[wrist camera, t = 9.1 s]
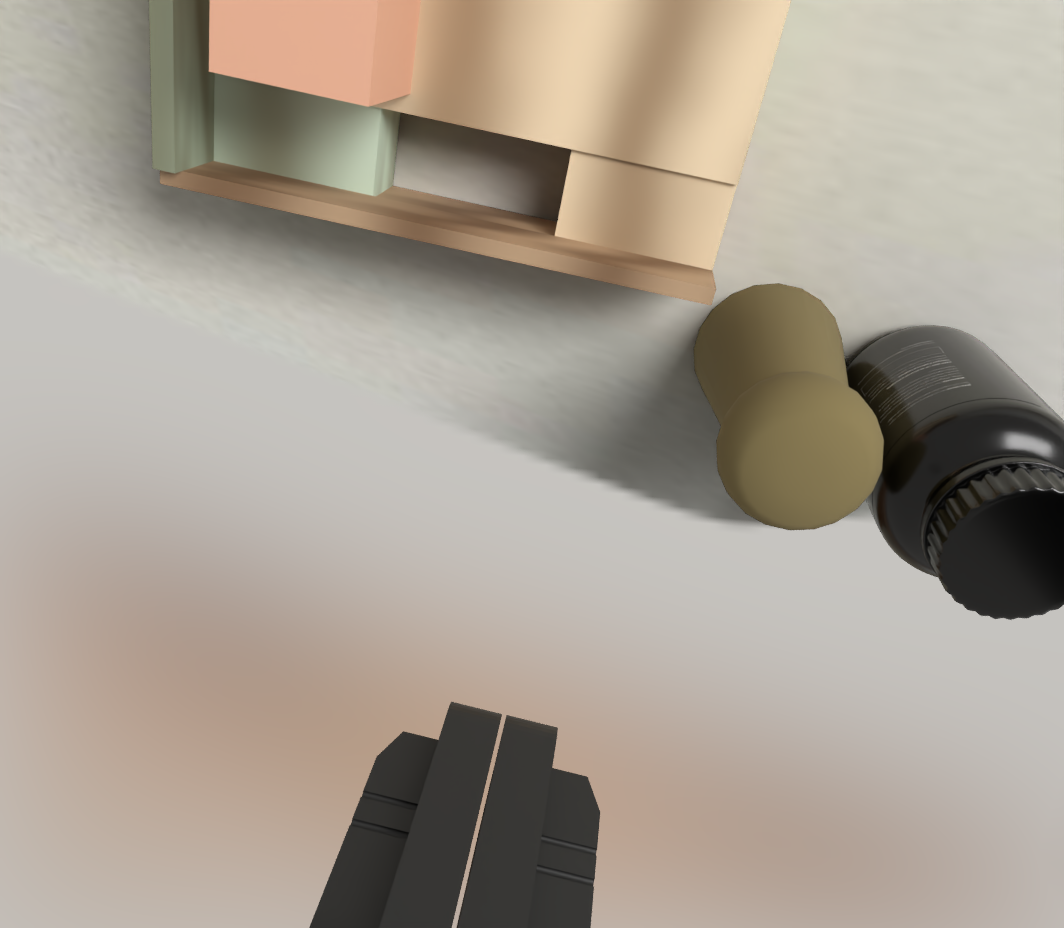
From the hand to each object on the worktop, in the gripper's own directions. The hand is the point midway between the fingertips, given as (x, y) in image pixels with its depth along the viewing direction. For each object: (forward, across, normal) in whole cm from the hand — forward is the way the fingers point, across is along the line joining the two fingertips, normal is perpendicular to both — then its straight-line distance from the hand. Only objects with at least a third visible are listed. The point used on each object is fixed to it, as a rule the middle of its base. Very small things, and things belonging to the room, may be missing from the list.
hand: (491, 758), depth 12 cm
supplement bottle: (+27, -14, +2) cm, 31 cm away
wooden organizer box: (+27, +6, -8) cm, 29 cm away
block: (+24, +11, -8) cm, 27 cm away
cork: (+27, -7, +2) cm, 28 cm away
